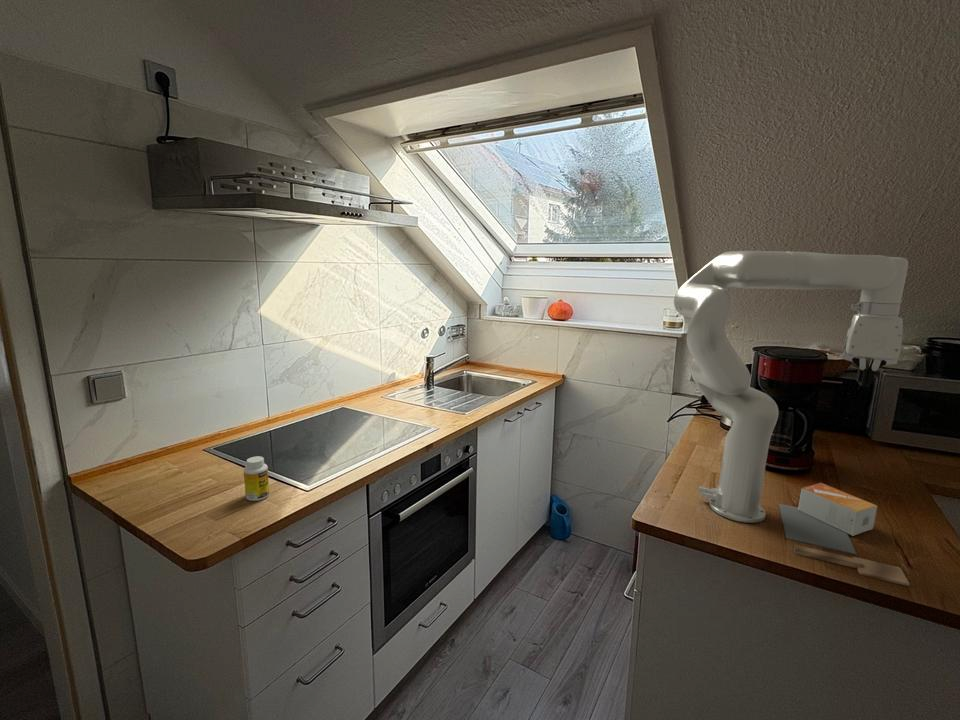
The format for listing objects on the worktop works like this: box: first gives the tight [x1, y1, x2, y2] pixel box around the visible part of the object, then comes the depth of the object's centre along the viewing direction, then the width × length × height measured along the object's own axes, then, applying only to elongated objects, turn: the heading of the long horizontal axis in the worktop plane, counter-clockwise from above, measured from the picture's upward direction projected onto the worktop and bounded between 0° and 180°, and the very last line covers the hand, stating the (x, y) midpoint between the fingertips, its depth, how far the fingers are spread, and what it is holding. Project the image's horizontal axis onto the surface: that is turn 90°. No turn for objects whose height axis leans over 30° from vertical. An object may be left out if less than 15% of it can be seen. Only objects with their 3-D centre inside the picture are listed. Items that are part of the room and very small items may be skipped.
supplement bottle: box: [243, 455, 270, 502], centre depth 123 cm, size 6×6×10 cm
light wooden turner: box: [793, 544, 911, 587], centre depth 102 cm, size 19×6×1 cm, turn 64°
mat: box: [778, 503, 857, 556], centre depth 116 cm, size 13×18×1 cm
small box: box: [797, 482, 878, 537], centre depth 119 cm, size 8×6×13 cm
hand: (863, 385), depth 119 cm, fingers closed
